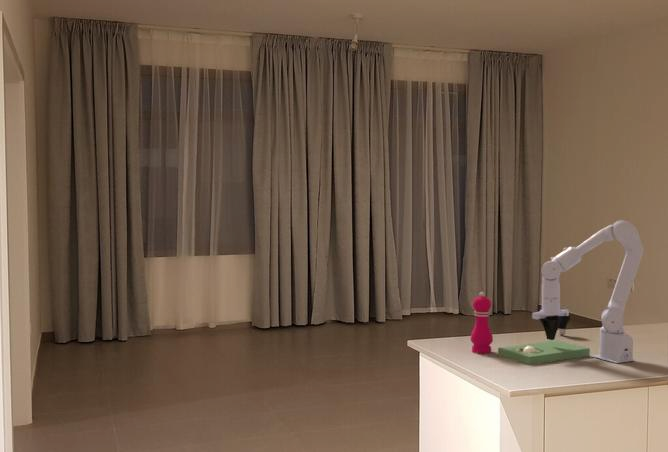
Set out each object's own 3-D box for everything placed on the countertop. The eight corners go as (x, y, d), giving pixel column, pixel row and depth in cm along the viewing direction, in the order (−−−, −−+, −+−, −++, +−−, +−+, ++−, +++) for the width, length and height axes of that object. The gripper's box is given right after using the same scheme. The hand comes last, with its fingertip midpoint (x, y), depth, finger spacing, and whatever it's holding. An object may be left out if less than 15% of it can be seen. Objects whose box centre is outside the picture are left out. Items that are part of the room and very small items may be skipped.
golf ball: (531, 363, 211) (540, 354, 211) (526, 357, 209) (535, 348, 209) (524, 356, 215) (532, 347, 214) (518, 350, 212) (527, 341, 212)
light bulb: (567, 334, 251) (568, 307, 250) (571, 337, 245) (572, 310, 245) (551, 333, 251) (552, 307, 251) (555, 337, 245) (555, 310, 245)
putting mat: (589, 355, 215) (589, 348, 215) (529, 364, 203) (529, 356, 203) (556, 347, 228) (556, 340, 228) (498, 355, 216) (498, 347, 216)
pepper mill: (493, 354, 217) (493, 293, 217) (470, 353, 219) (470, 293, 218) (492, 349, 224) (492, 290, 224) (470, 348, 226) (470, 290, 225)
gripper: (557, 294, 224) (557, 334, 225) (525, 298, 217) (525, 339, 218) (574, 297, 218) (573, 338, 218) (541, 300, 211) (541, 343, 212)
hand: (550, 339), depth 218 cm, fingers closed
